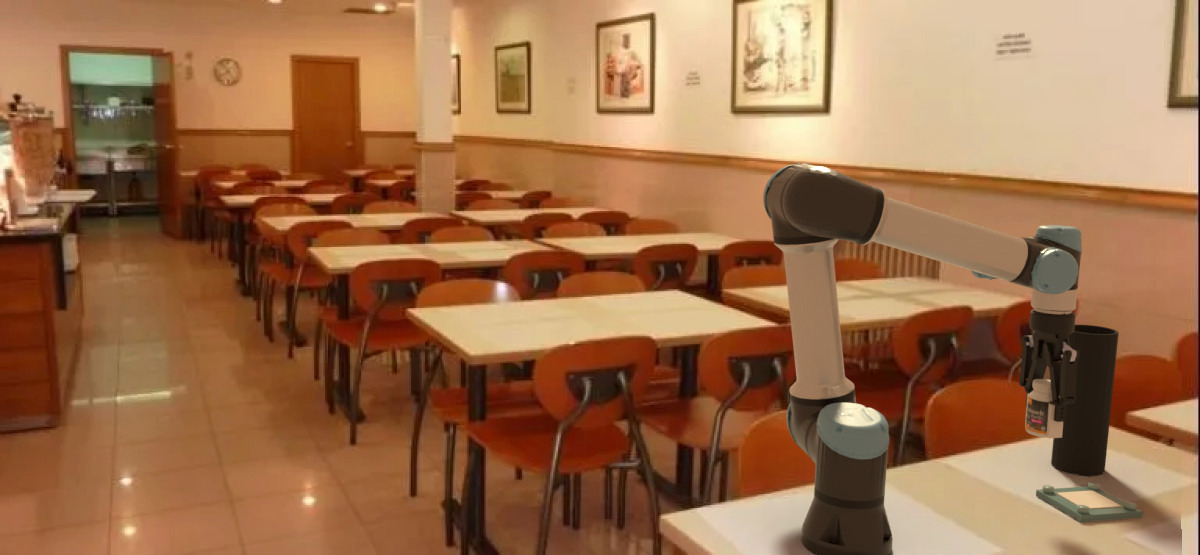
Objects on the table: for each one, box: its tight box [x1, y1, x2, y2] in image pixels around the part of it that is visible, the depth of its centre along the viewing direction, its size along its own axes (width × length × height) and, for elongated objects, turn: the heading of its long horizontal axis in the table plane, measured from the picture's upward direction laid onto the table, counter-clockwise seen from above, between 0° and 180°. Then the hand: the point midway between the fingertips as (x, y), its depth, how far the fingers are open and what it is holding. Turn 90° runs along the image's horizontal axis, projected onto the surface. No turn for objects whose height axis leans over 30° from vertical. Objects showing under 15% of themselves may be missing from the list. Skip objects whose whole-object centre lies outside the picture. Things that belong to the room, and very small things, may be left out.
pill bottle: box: [1024, 378, 1060, 438], centre depth 183 cm, size 6×6×10 cm
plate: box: [1035, 482, 1144, 523], centre depth 187 cm, size 13×13×2 cm
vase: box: [1050, 324, 1119, 477], centre depth 207 cm, size 10×10×30 cm
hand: (1043, 431), depth 183 cm, fingers closed on pill bottle, 6 cm apart
